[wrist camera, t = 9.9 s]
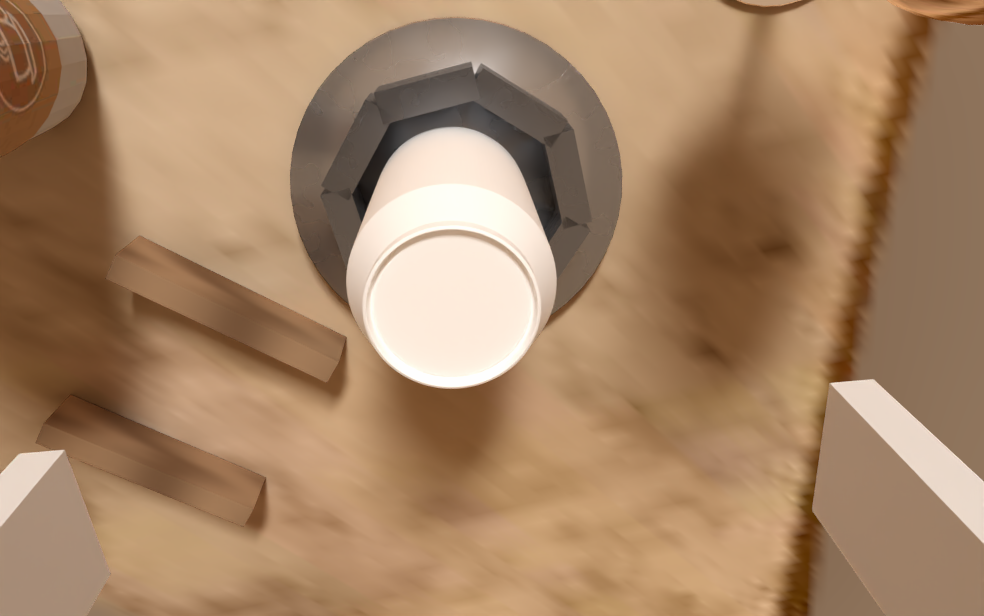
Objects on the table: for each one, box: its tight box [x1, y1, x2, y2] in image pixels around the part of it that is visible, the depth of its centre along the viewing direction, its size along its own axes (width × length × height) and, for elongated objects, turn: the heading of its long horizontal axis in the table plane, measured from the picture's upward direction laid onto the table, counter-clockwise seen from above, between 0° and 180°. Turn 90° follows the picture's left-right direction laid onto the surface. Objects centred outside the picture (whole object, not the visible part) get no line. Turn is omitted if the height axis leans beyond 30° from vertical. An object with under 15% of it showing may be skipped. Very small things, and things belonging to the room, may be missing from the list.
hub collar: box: [290, 17, 622, 315], centre depth 30 cm, size 14×14×3 cm
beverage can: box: [346, 127, 557, 389], centre depth 25 cm, size 6×6×12 cm
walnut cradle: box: [36, 236, 346, 527], centre depth 34 cm, size 10×10×2 cm
